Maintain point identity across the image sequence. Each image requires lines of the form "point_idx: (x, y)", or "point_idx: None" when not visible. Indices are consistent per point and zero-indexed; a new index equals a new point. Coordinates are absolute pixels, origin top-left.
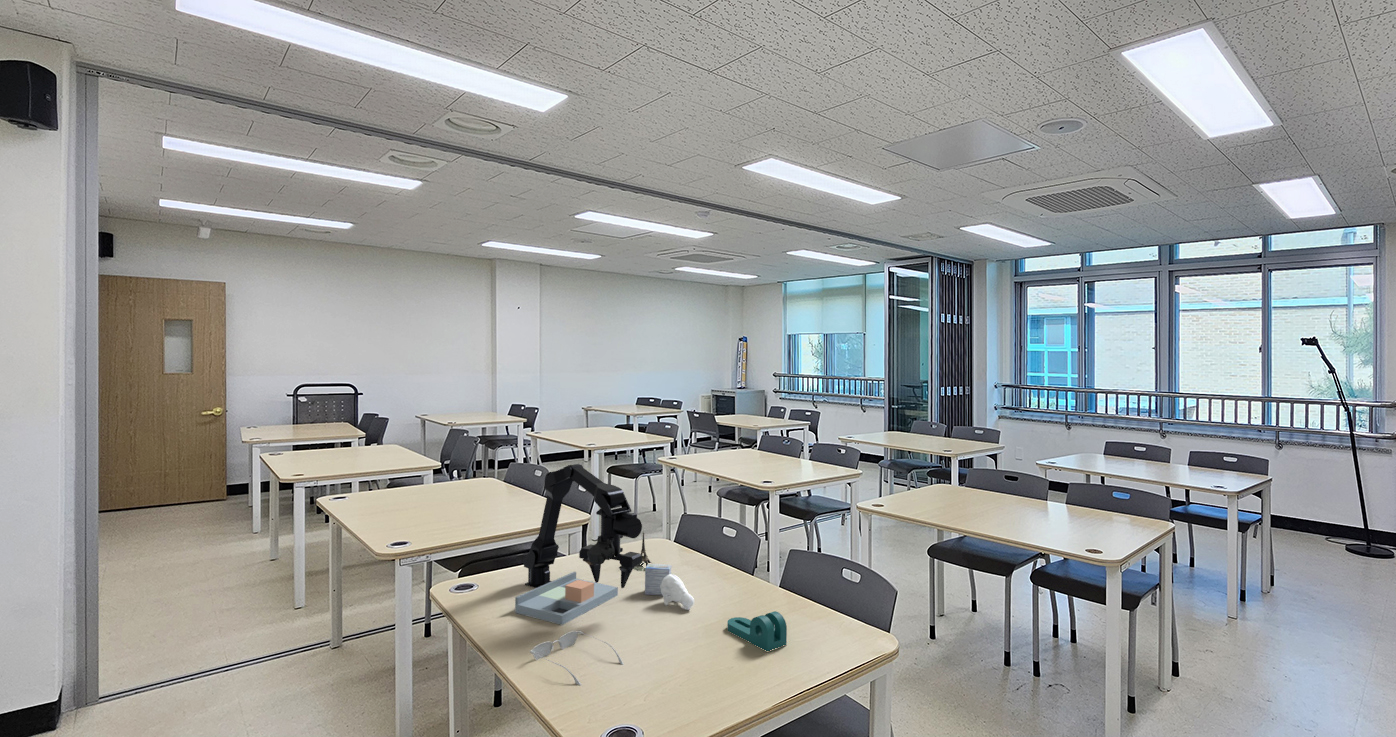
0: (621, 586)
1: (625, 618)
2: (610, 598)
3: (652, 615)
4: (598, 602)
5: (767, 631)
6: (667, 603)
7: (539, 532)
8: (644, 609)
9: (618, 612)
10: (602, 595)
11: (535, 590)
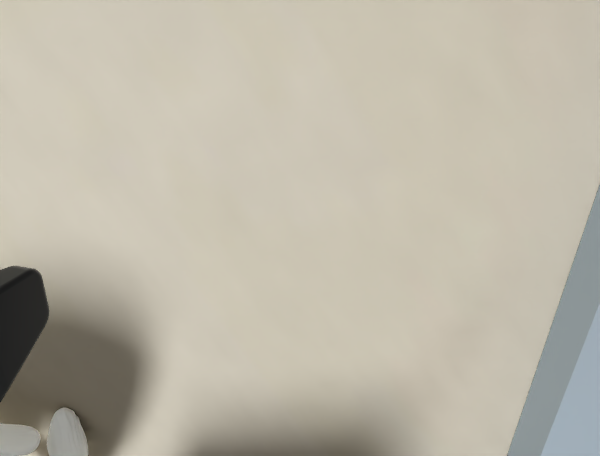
0: (5, 278)
1: (145, 86)
2: (519, 424)
3: (12, 232)
4: (577, 288)
5: None
6: (51, 421)
7: None
8: (139, 313)
9: (288, 189)
10: (567, 380)
11: None
